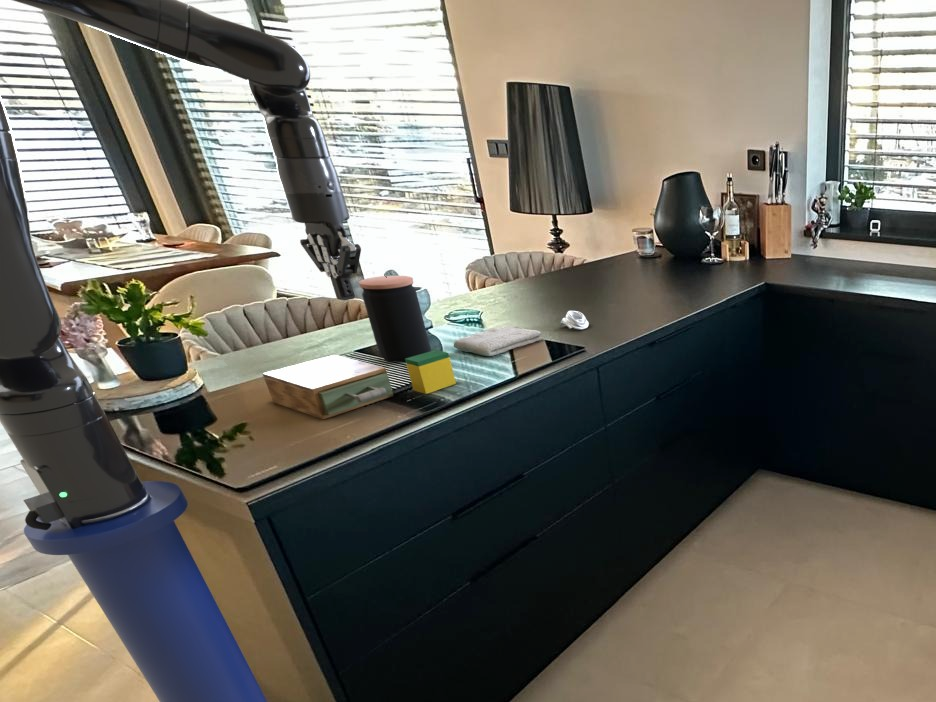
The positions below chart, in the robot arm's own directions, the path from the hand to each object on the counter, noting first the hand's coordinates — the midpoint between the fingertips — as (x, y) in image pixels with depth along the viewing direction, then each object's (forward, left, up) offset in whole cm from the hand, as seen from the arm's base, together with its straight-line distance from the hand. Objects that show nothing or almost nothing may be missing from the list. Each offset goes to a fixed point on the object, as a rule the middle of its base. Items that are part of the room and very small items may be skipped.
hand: (346, 299), depth 106 cm
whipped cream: (+65, +16, -23) cm, 71 cm away
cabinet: (+2, +19, -23) cm, 30 cm away
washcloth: (+43, +20, -23) cm, 53 cm away
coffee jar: (+26, +32, -23) cm, 47 cm away
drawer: (+2, +15, -22) cm, 27 cm away
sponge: (+16, +8, -23) cm, 29 cm away
